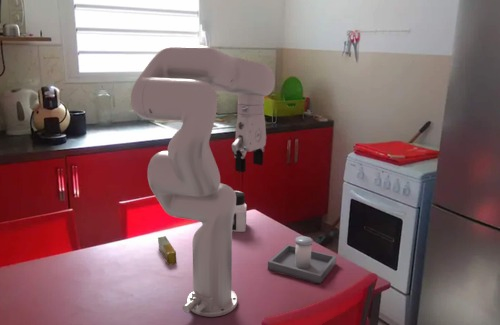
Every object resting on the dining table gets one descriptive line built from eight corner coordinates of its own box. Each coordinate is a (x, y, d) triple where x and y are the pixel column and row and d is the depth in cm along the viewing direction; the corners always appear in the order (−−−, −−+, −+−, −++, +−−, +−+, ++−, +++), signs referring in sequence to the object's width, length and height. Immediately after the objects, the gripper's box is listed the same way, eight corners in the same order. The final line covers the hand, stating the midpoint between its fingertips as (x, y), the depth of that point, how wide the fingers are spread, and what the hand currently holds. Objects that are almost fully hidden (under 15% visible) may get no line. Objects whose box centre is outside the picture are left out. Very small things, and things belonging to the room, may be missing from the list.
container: (245, 232, 156) (246, 196, 153) (223, 231, 156) (223, 196, 153) (246, 223, 163) (246, 189, 160) (225, 223, 164) (225, 189, 160)
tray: (319, 284, 123) (320, 276, 122) (267, 269, 130) (268, 261, 130) (336, 264, 134) (336, 256, 134) (287, 251, 142) (287, 244, 141)
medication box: (158, 248, 143) (157, 237, 142) (166, 247, 144) (165, 235, 143) (168, 265, 132) (167, 253, 131) (177, 263, 133) (176, 251, 132)
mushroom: (307, 270, 129) (308, 244, 127) (291, 266, 131) (292, 240, 129) (313, 263, 133) (315, 238, 131) (297, 259, 136) (299, 234, 133)
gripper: (245, 114, 119) (244, 176, 124) (276, 108, 134) (274, 163, 138) (222, 112, 123) (222, 172, 127) (255, 105, 137) (254, 160, 142)
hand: (249, 167), depth 133 cm, fingers open, 9 cm apart
